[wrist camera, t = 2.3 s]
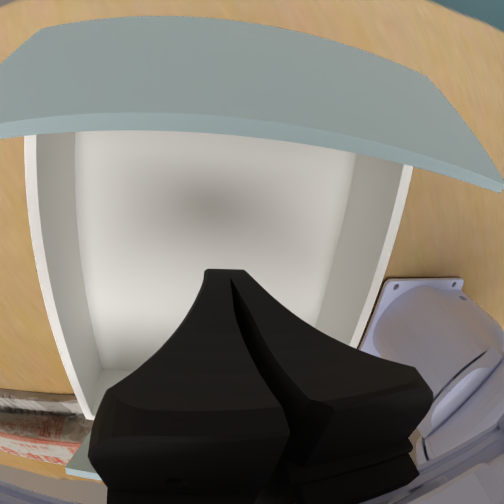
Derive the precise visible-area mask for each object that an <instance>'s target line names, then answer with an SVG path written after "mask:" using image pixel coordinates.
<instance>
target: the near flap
mask: <svg viewBox="0 0 504 504" xmlns="http://www.w3.org/2000/svg"><path fill="white" fill-rule="evenodd" d="M111 130H149V131H180V132H198V133H213V134H225V135H236V136H246V137H255V138H264V139H272V140H280V141H287V142H294V143H301V144H307V145H313V146H319V147H325V148H331V149H336V150H341V151H347V152H352V153H357V154H362V155H366V156H371V157H375V158H380V159H384V160H389V161H393V162H397V163H401V164H405V165H409V166H413V167H417V168H420V169H424V170H428V171H431V172H435V173H438V174H442V175H445V176H448V177H452V178H455V179H458V180H461V181H465V182H468V183H471V184H474V185H477V186H480V187H483V188H486V189H488V190H491V191H494V192H497V193H500V192H501V191H502V190H503V189H504V179H503V178H502V176H501V174H500V173H499V171H498V169H497V168H496V166H495V165H494V163H493V161H492V160H491V158H490V157H489V155H488V154H487V152H486V151H485V149H484V148H483V146H482V145H481V143H480V142H479V140H478V139H477V137H476V136H475V135H474V133H473V132H472V130H471V129H470V128H469V126H468V125H467V124H466V122H465V121H464V120H463V118H462V117H461V116H460V115H459V113H458V112H457V111H456V109H455V108H454V107H453V106H452V105H451V103H450V102H449V101H448V100H447V98H446V97H445V96H444V95H443V94H442V93H441V91H440V90H439V89H438V88H437V87H436V86H435V85H434V84H433V82H432V81H431V80H430V79H429V78H428V77H427V76H425V75H423V74H421V73H419V72H417V71H414V70H412V69H410V68H408V67H405V66H403V65H401V64H398V63H396V62H393V61H391V60H388V59H386V58H383V57H380V56H378V55H375V54H372V53H370V52H367V51H364V50H361V49H358V48H355V47H352V46H349V45H346V44H342V43H339V42H336V41H332V40H329V39H325V38H321V37H318V36H314V35H310V34H306V33H302V32H297V31H293V30H288V29H283V28H278V27H273V26H267V25H262V24H255V23H249V22H242V21H234V20H225V19H215V18H203V17H184V16H137V17H119V18H107V19H97V20H89V21H81V22H74V23H68V24H62V25H57V26H52V27H47V28H42V29H40V30H39V31H38V32H36V33H35V34H34V35H33V36H32V37H30V38H29V39H28V40H27V41H26V42H24V43H23V44H22V45H21V46H20V47H19V48H18V49H16V50H15V51H14V52H13V53H12V54H11V55H10V56H9V57H8V58H7V59H6V60H4V61H3V62H2V63H1V64H0V139H4V138H12V137H20V136H29V135H39V134H50V133H63V132H81V131H111Z"/></svg>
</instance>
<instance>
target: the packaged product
mask: <svg viewBox="0 0 504 504" xmlns="http://www.w3.org/2000/svg"><path fill="white" fill-rule="evenodd" d="M93 422H94V420H88V419H86V418H85V416H84V413H83V411H82V409H81V407H80V405H79V402H78V400H77V398H76V395H61V394H49V393H40V392H27V391H18V390H10V389H1V388H0V450H1V451H4V452H7V453H11V454H14V455H17V456H22V457H26V458H30V459H35V460H39V461H43V462H50V463H54V464H61V465H67V464H68V462H69V461H70V460H71V458H72V457H73V455H74V454H75V452H76V451H77V450H78V448H79V447H80V445H81V444H82V443H83V441H84V440H85V438H86V437H87V436H88V434H89V433H90V431H91V429H92V425H93Z"/></svg>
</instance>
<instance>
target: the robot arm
mask: <svg viewBox="0 0 504 504" xmlns="http://www.w3.org/2000/svg"><path fill="white" fill-rule="evenodd" d="M463 284H464V280H463V279H462V278H409V279H388V280H387V281H386V282H385V283H384V285H383V288H382V291H381V293H380V296H379V299H378V302H377V304H376V307H375V310H374V312H373V315H372V318H371V320H370V323H369V325H368V328H367V330H366V333H365V335H364V338H363V340H362V342H361V345H360V347H359V350H358V349H356V348H353V347H351V346H349V345H346V344H344V343H342V342H340V341H338V340H336V339H334V338H332V337H330V336H328V335H326V334H325V333H323V332H321V331H319V330H318V329H316V328H314V327H313V326H311V325H310V324H308V323H306V322H305V321H303V320H302V319H300V318H299V317H298V316H296V315H295V314H293V313H292V312H291V311H290V310H288V309H287V308H286V307H284V306H283V305H282V304H281V303H280V302H278V301H277V300H276V299H275V298H274V297H273V296H271V295H270V294H269V293H268V292H267V291H266V290H265V289H264V288H263V287H262V286H261V285H260V284H259V283H258V282H257V281H255V280H254V279H253V278H252V277H251V276H250V275H249V274H248V273H247V272H246V271H245V270H242V269H206V270H205V271H204V279H203V283H202V285H201V288H200V290H199V293H198V295H197V297H196V299H195V301H194V303H193V305H192V306H191V308H190V310H189V312H188V313H187V315H186V317H185V318H184V320H183V321H182V322H181V324H180V325H179V327H178V328H177V329H176V330H175V332H174V333H173V334H172V335H171V337H170V338H169V339H168V340H167V341H166V342H165V343H164V344H163V346H162V347H161V348H160V349H159V350H158V351H157V352H156V353H155V354H153V355H152V356H151V357H150V358H149V359H148V360H147V361H145V362H144V363H143V364H142V365H141V366H140V367H139V368H137V369H136V370H135V371H134V372H132V373H131V374H130V375H128V376H127V377H125V378H124V379H122V380H121V381H119V382H118V383H116V384H115V385H113V386H112V387H110V388H108V389H107V390H106V392H105V394H104V396H103V398H102V401H101V403H100V405H99V408H98V410H97V413H96V416H95V419H94V422H93V425H92V429H91V435H90V442H89V449H88V459H89V461H90V464H91V465H92V467H93V468H94V470H95V471H96V472H97V474H98V475H99V477H100V478H101V479H102V481H103V482H104V483H105V485H106V486H107V487H108V490H107V504H390V503H393V502H394V503H393V504H504V331H503V329H502V328H501V326H500V325H499V324H498V323H497V322H496V321H495V320H494V319H493V318H492V317H491V316H490V315H489V314H488V313H487V312H485V311H484V310H483V309H482V308H481V307H480V306H479V305H478V304H477V303H475V302H474V301H473V300H472V299H471V298H470V297H469V296H467V295H466V294H465V293H464V292H463V291H462V290H461V289H462V286H463ZM394 285H395V286H394ZM416 428H418V430H419V432H420V433H421V435H422V436H420V438H419V439H418V441H417V445H416V460H417V465H418V466H415V464H414V462H413V461H412V459H411V457H410V455H409V452H411V451H412V449H413V446H412V444H411V442H410V440H409V439H408V437H409V436H410V435H411V434H412V432H413V431H414V430H415V429H416ZM397 500H398V501H397ZM395 501H396V502H395ZM0 504H81V503H75V502H71V501H67V500H63V499H59V498H55V497H51V496H47V495H44V494H41V493H37V492H34V491H31V490H28V489H25V488H21V487H19V486H16V485H13V484H10V483H8V482H5V481H2V480H0Z"/></svg>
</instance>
